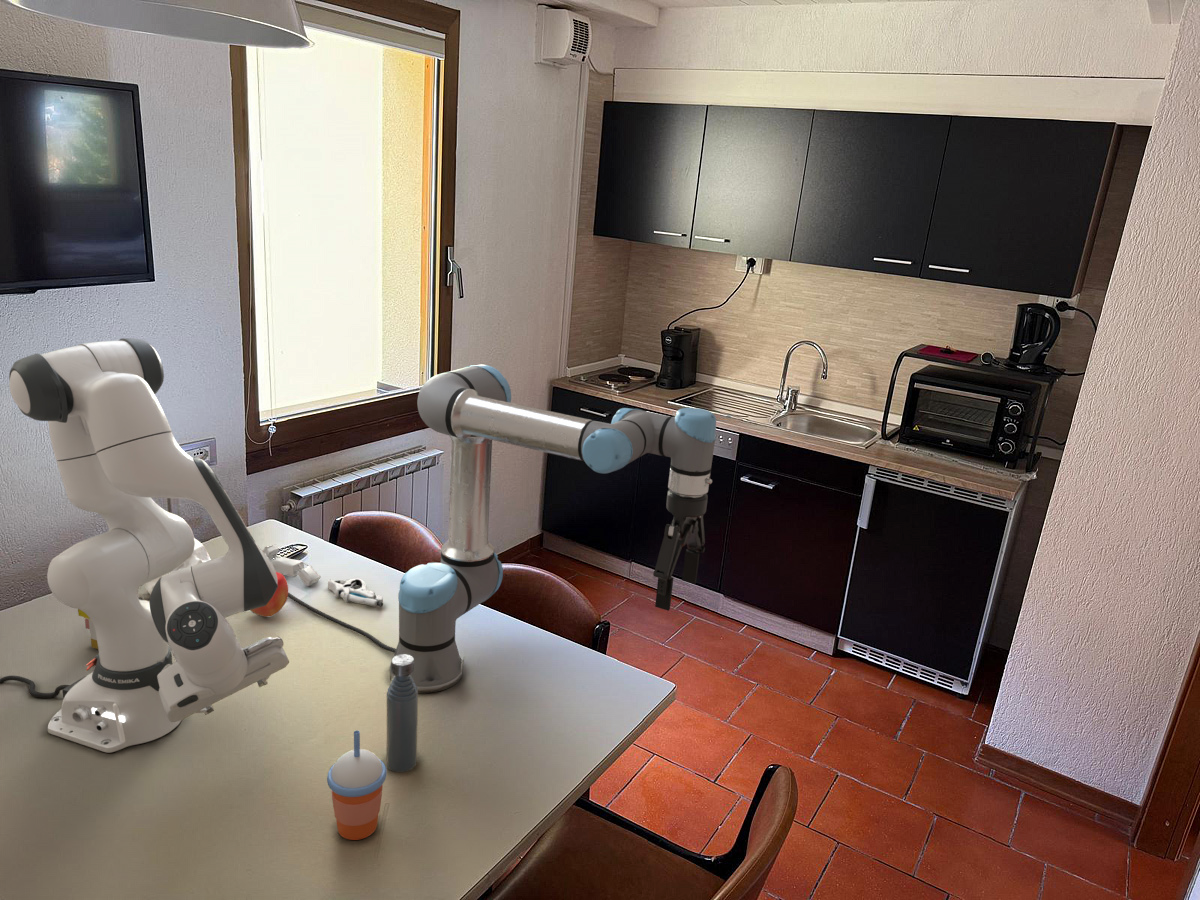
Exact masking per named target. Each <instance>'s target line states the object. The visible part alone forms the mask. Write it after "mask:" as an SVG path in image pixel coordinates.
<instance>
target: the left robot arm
mask: <svg viewBox="0 0 1200 900" xmlns="http://www.w3.org/2000/svg"><path fill="white" fill-rule="evenodd" d="M8 377H9V378H8V380H9V391H10V394H11V397H12V399H13V401H14V403H15V405H16V406H17V407H18V409H19V410H20V412H21V413H22V414H23V415H24V416H26V417H28V418H30V419H32V420H34V421H39V422H40V421H41V422H47V423H48V431H49V436H50V437H49V438H50V442H51V447H52V451H53V454H54V458H55V461H56V464H57V467H58V470H59V474H60V477H61V481H62V483H63V486H64V490H65V493H66V497H67V499H68V501H69V502H70V503H71V504H72V505H73V506H74V507H76V508H78V509H80V510H83V511H86V512H90V513H96V514H98V515H100V516H101V518H102V519H103V520H104V521H105V523H106V525H107V527H108V531H105V532H103V533H100V534H97V535H95V536H92V537H89V538H87V539H84V540H81V541H79V542H76V543H75V544H73V545H71V546H70V547H68V548H66V549H65V550H64V551H61V552H60V553H59V554H57V555H56V556H54V557H53V558H52V559H51V560H50V562H49V565H48V568H47V574H46V578H47V584H48V587H49V590H50V592H51V593H52V595H53V596H54V597H55V598H56V599H57V601H59V602H61V603H62V604H63V605H65V606H67V607H70V608H72V609H76V610H78V609H79V610H81V611H83V612H84V613H86V614H87V615H88V617H89V618H90V619H91V621H92V623H93V625H94V628H95V632H96V637H97V643H98V649H97V650H98V654H96V655H95V656H93V657H94V658H93V659H91V660H90V661H89V662H88V663H87V664H86V665H85V667H87V668H86V669H85V670H86V672H88V671H89V670H91V669H92V668H93V667H94V669H93V671H92V672H91V673H89V674H88V675H85V676H83V677H81V678H80V679H78V680H76V681H74V682H72V683H71V684H61V685H58V686H56V688H55V689H54V691H52V692H39V691H36V690H35V689H36V685H35V681H33V680H31V679H29V678H28V677H27V678H26V677H23V676H20V675H6V676H3V677H1V678H0V684H3V683H4V682H7V681H17V682H21V683H24V684H27V685H28V692H29V694H30V695H31V696H33V697H36V698H42V699H50V698H55V697H57V696H58V695H60V693H61V691H62V698H63V700H62V702H61V708H60V709H59V710H58V711H57V712H56V713H55V714H54V715H53V716H52V717H51V719H50V720H49V722H48V725H47V733H48V734H50V735H53V736H55V737H59V738H62V739H65V740H67V741H71V742H74V743H77V744H79V745H83V746H84V747H85V746H86V747H89V748H91V749H94V750H97V751H100V752H103V753H107V754H108V753H109V754H111V753H114V752H118V751H121V750H122V749H125V748H127V747H131V746H135V745H140V744H144V743H149V742H151V741H155V740H157V739H160V738H162V737H163V736H165V735H168V734H169V733H171V732H172V731H173V730H174V729H175V728H177V727H178V726H179V724H180V723H181V722H182V720H184V719H186V718H188V717H190V716H192V715H194V714H203V715H205V716H207V715H208V714H210V713H212V712H214V711H215V709H214V708H213V705H214V704H216V703H217V702H219V701H221V700H224V699H226V698H228V697H231V696H232V695H233V694H236V693H238V692H239V691H242V690H243V689H245V688H247V687H249V686H251V685H253V684H255V683H256V684H257V685H258V687H259V688H261V687H263V686H266V685H268V679H270V677H271V675H273V674H275V673H277V672H279V671H281V670H283V669H285V668H287V666H288V665H289V663H290V660H289V657H288V655H287V653H286V651H285V649H284V640H283V638H281V636H277V637H272V636H268V637H264V638H261V639H259V640H257V641H255V642H254V643H251V644H249V645H247V646H245V647H243V646H242V644H241V643H240V641H239V640H238V639H237V637H236V634H235V631H234V629H233V628H232V626H231V624H230V623H229V621H228V620H227V619H226V618H229V617H231V616H234V615H236V614H239V613H241V612H248V611H250V610H252V609H256V608H259V607H263V606H266V605H267V603H268V602H269V601H270V600H271V598H272V597H273V595H274V593H275V592H276V590H277V587H278V584H277V575H276V571H275V569H274V567H273V565H272V563H271V561H270V560H269V558H268V557H267V556H266V555H265V553H264V552H263V551H262V550H263V549H262V548H260V547H259V545H258V544H257V543H256V541H255V539H254V537H253V535H252V534H251V532H250V530H249V529H248V527H247V525H246V524H245V521H244V520H243V518H242V516H241V514H240V513H239V512H238V510H237V508H236V505H234V503H233V501H232V499H231V497H230V496H229V495H228V493H227V491H226V490H225V488H224V487H223V485H222V483H221V482H220V480H219V478H218V477H217V476H216V474H215V472H214V471H213V469H212V468H211V467H210V465H208V463H207V462H206V460H205V461H204V459H202V458H198V457H192V456H191V455H190V454H188V453H187V452H186V451H185V450H184V449H183V448H182V447H181V446H180V444H179V443H178V441H177V440H176V438H175V436H174V433H173V430H172V428H171V425H170V422H169V421H168V418H167V416H166V413H165V412H164V409H163V407H162V405H161V404H160V401H159V399H158V398H157V396H156V394H157V393H158V392H159V391H160V389H161V387H162V386H163V383H164V380H165V373H164V367H163V363H162V360H161V357H160V355H159V353H158V352H157V350H156V349H155V348H154V346H153V345H151V344H150V343H149V342H148V341H146V340H145V339H141V338H133V337H132V338H131V337H129V338H126V337H124V338H123V337H122V338H120V339H118V340H104V341H103V340H102V341H92V342H91V341H90V342H85V343H79V344H78V345H74V346H68V347H65V348H59V349H56V350H52V351H48V352H45V353H42V354H40V353H33V354H30V355H27V356H25V357H22V358H20V359H18V360H16V361H15V362H13V364H12V366H11V368H10V370H9V375H8ZM154 499H181V500H186V501H187V500H188V501H191V502H195V503H197V504H198V505H200V506H201V507H203V508H204V510H205V511H206V513H208V515H209V517H210V519H211V520H212V522H213V523H214V525H215V527H216V529H217V530H218V532H219V534H220V535H221V537H222V539H223V541H224V542H225V543H226V545H227V548H228V550H227V552H226V553H225V554H222V555H220V556H218V557H215V558H212V559H211V560H209V561H206V562H203V563H200V564H197V565H194V566H190V567H187V568H184V569H181V570H178V571H175V572H172V573H170V574H167V573H169V572H171V571H173V570H174V569H175V568H177V567H178V566H179V565H181V564H182V563H183V562H184V561H186V560H187V559H188V558H189V557H190V556H191V555H192V553H193V551H194V545H195V540H194V538H195V535H194V532H193V530H192V528H191V526H190V525H189V523H188V522H187V521H186V520H185V519H183V518H182V517H181V516H179V515H177V514H175V513H172V512H169V511H167V510H166V509H164V508H162V507H161V506H160V505H159V504H157V503H156V501H155V500H154ZM165 574H167V575H165ZM162 575H165V576H162ZM160 576H162V577H160ZM158 577H160V579H159V580H158V581H157V583H156V584H155V586H154V588H153V590H152V593H151V595H150V594H149V600H145V599H142V600H139V598H138V597H139V590H140V587H142V586H143V584H145V583H147V582H149V581H152V580H154V579H156V578H158ZM172 655H173V656H172ZM173 658H174V659H175V661H174V662H173Z"/></svg>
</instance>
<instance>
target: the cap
mask: <svg viewBox="0 0 1200 900" xmlns="http://www.w3.org/2000/svg"><path fill="white" fill-rule="evenodd" d="M393 656H394V655H393ZM393 656H392V658H391V661H392V663H391V662H390V665H391V671H392V674H393V675H395V676H399V677H405V676H409V675H411V674H412V673H413V671H414V658H413V657H412V656H411V655H407V654H400V655H396V656H394V657H393Z"/></svg>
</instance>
